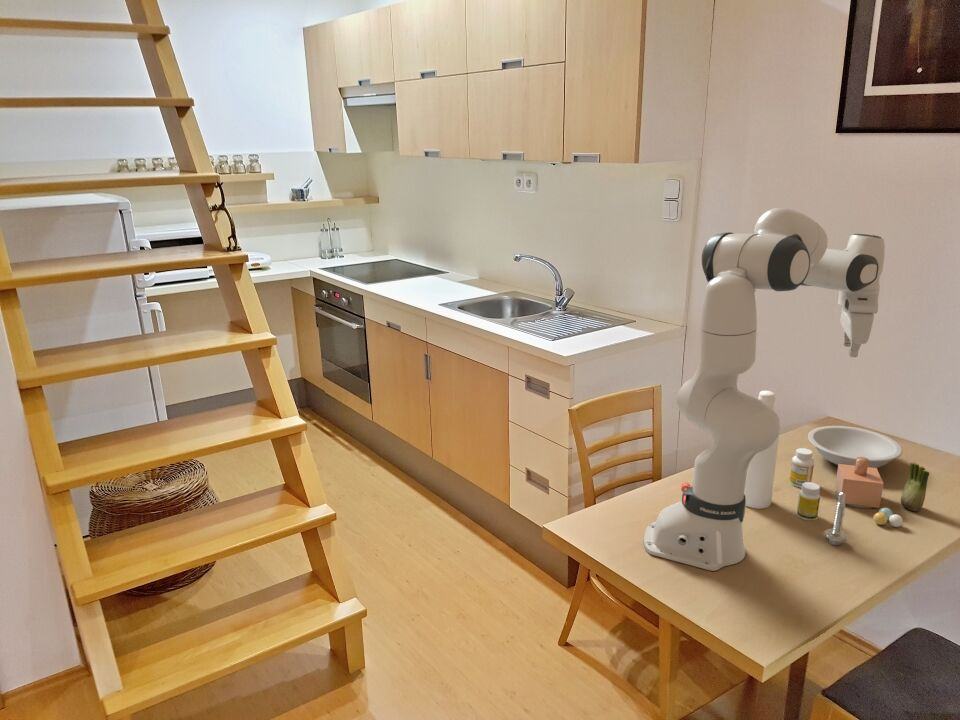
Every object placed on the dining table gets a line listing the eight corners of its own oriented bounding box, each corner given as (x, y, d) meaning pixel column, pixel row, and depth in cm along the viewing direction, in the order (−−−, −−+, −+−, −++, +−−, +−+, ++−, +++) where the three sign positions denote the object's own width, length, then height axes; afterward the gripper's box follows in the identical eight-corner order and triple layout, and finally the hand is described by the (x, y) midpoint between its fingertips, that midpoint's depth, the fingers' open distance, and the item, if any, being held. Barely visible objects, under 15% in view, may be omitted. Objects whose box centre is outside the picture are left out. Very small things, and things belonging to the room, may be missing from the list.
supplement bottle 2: (819, 521, 174) (823, 491, 171) (798, 520, 175) (802, 489, 172) (814, 512, 178) (818, 482, 176) (794, 510, 179) (798, 480, 177)
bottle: (739, 507, 181) (751, 396, 172) (737, 492, 188) (748, 386, 179) (772, 510, 179) (786, 399, 170) (769, 496, 186) (782, 388, 177)
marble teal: (879, 521, 174) (881, 510, 173) (876, 515, 176) (878, 504, 176) (892, 523, 173) (894, 512, 172) (890, 517, 176) (892, 506, 175)
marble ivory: (889, 528, 171) (891, 517, 170) (886, 522, 173) (888, 511, 172) (903, 530, 170) (905, 519, 169) (900, 524, 172) (902, 513, 172)
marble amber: (873, 526, 172) (875, 515, 171) (871, 520, 174) (873, 509, 173) (887, 528, 171) (889, 517, 170) (885, 521, 173) (887, 511, 173)
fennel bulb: (924, 515, 176) (933, 471, 173) (902, 512, 178) (910, 468, 174) (919, 504, 182) (927, 461, 178) (897, 501, 183) (905, 458, 179)
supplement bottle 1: (800, 477, 196) (805, 445, 193) (815, 486, 191) (820, 453, 188) (784, 481, 194) (789, 448, 192) (799, 489, 190) (803, 456, 187)
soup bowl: (797, 468, 202) (799, 446, 200) (814, 439, 221) (817, 419, 219) (893, 490, 189) (897, 467, 187) (902, 457, 207) (906, 437, 205)
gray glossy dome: (837, 505, 181) (837, 503, 181) (832, 487, 190) (832, 485, 190) (881, 511, 178) (881, 509, 178) (874, 492, 187) (874, 490, 187)
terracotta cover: (839, 502, 181) (845, 464, 178) (834, 486, 190) (840, 449, 186) (879, 507, 179) (886, 469, 175) (872, 491, 187) (879, 454, 184)
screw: (822, 545, 164) (823, 534, 168) (846, 550, 162) (846, 539, 166) (830, 494, 160) (831, 485, 164) (854, 499, 158) (854, 490, 162)
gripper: (838, 289, 189) (831, 339, 193) (850, 306, 170) (842, 361, 175) (864, 290, 187) (856, 341, 191) (879, 308, 169) (870, 363, 173)
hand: (850, 351), depth 183 cm, fingers open, 8 cm apart
